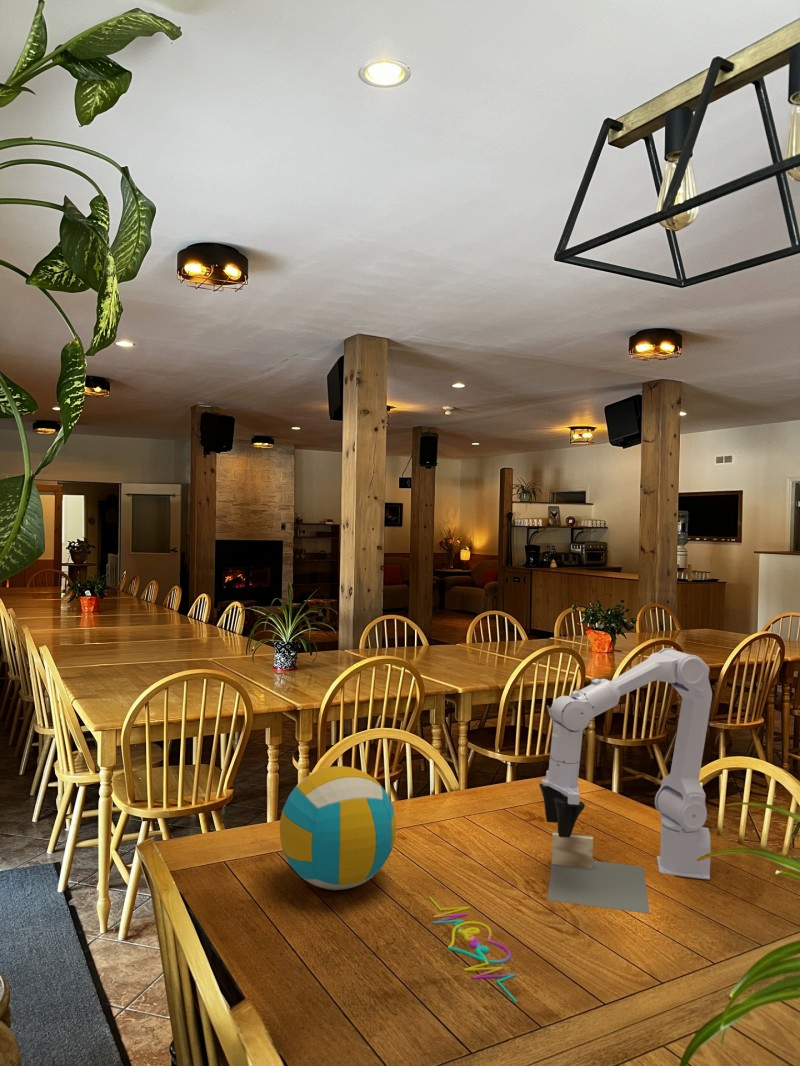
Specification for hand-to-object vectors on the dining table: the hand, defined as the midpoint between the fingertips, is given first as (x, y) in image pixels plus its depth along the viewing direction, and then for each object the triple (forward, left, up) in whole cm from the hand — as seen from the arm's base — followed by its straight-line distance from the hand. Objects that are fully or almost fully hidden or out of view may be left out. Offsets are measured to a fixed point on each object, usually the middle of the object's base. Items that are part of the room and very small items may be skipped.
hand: (557, 829), depth 155 cm
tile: (-3, -7, -10) cm, 12 cm away
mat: (-8, 0, -10) cm, 13 cm away
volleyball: (+40, +14, -10) cm, 44 cm away
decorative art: (+12, +28, -11) cm, 32 cm away
